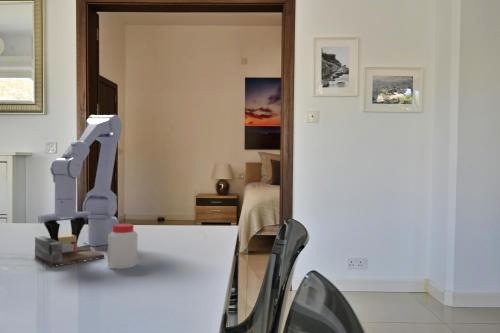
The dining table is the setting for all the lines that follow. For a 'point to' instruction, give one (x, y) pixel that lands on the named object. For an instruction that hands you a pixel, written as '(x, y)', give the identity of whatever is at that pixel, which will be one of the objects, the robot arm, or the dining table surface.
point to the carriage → (66, 238)
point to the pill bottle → (122, 246)
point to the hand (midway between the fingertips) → (64, 244)
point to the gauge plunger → (69, 247)
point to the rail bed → (53, 254)
